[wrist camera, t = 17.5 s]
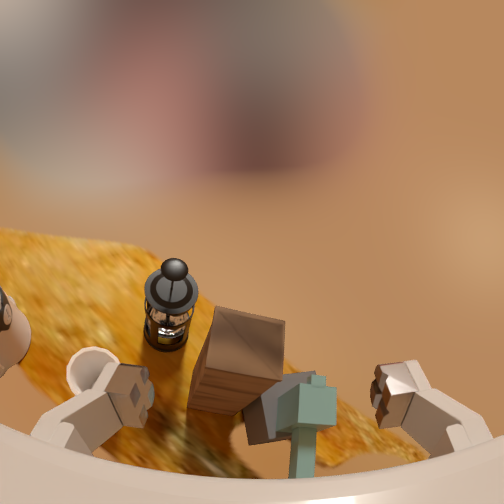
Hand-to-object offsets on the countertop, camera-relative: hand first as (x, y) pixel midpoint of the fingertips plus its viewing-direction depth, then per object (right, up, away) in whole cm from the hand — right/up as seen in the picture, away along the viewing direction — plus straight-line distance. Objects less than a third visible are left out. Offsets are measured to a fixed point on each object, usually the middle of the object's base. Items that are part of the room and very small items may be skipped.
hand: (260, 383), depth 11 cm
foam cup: (-28, -22, +42) cm, 55 cm away
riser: (+3, -28, +48) cm, 56 cm away
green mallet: (+6, -25, +35) cm, 44 cm away
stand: (-8, -23, +48) cm, 54 cm away
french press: (-18, -12, +54) cm, 58 cm away
